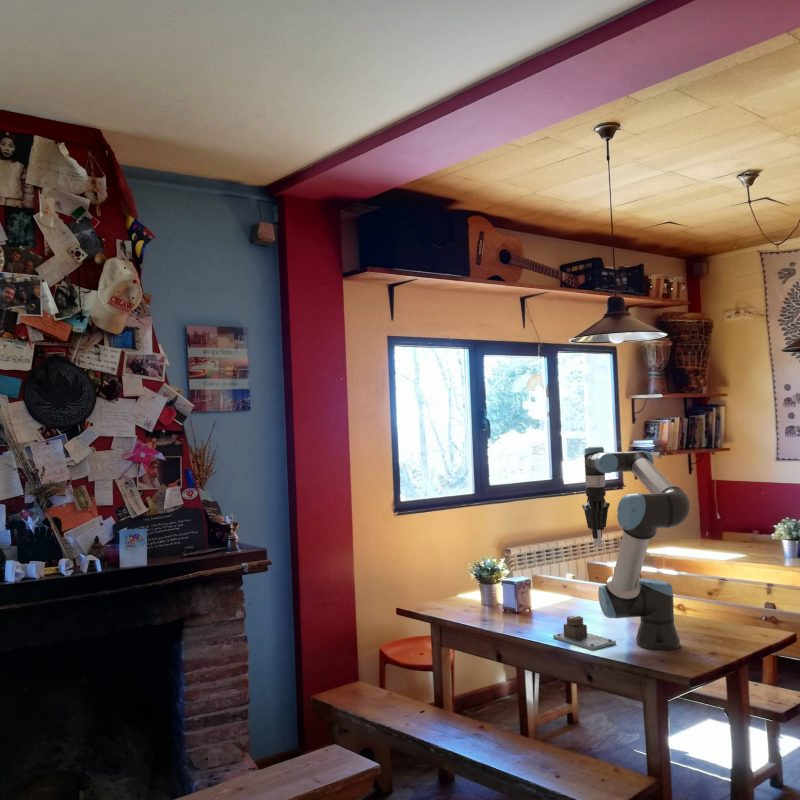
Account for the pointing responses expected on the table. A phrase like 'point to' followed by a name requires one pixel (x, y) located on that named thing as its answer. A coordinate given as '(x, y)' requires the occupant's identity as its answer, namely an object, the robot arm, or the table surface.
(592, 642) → the plate
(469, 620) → the table surface
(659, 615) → the robot arm
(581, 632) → the brown block
